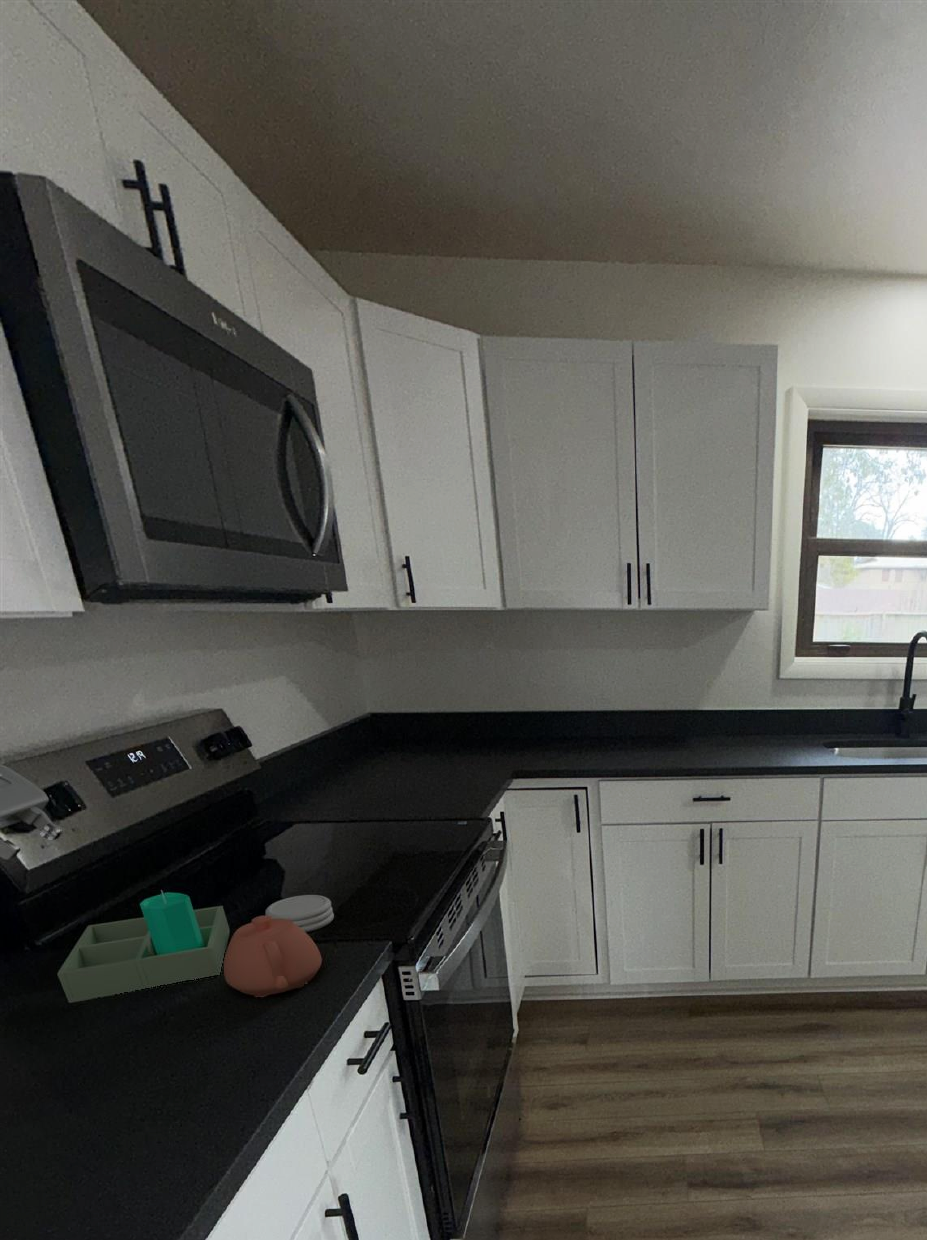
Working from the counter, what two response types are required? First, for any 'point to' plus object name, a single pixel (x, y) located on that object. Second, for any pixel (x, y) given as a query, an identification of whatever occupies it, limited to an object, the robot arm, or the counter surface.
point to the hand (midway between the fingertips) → (37, 845)
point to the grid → (139, 957)
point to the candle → (171, 923)
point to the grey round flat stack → (303, 911)
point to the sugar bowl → (270, 957)
